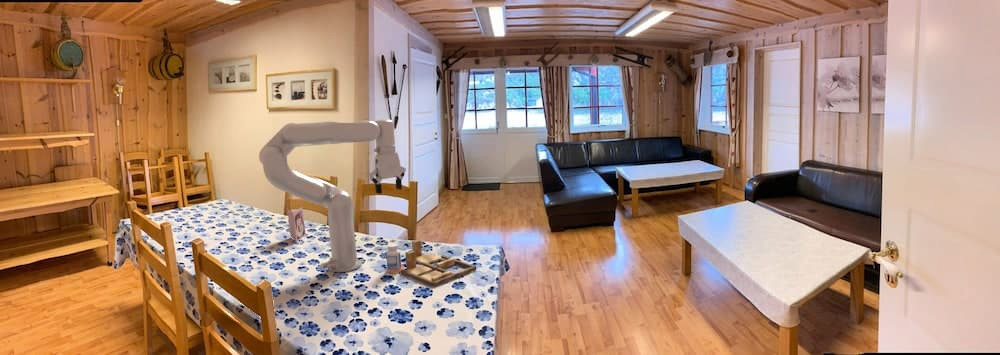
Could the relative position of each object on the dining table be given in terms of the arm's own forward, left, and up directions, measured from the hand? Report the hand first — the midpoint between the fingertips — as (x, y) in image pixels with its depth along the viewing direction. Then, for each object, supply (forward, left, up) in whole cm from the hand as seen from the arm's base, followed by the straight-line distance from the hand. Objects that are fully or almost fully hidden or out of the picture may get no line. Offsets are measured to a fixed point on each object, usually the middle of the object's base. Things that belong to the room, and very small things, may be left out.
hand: (389, 191), depth 203 cm
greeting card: (-17, +58, -28) cm, 67 cm away
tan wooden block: (-4, -22, -28) cm, 36 cm away
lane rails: (0, -28, -28) cm, 40 cm away
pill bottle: (-9, -14, -28) cm, 33 cm away
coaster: (-9, -14, -28) cm, 33 cm away
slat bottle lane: (+5, -18, -28) cm, 34 cm away
